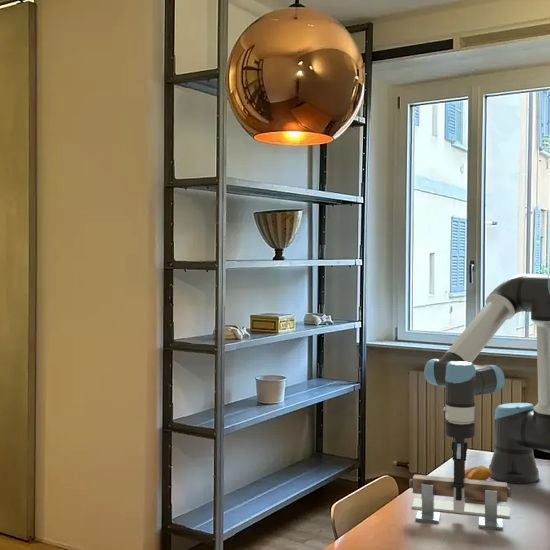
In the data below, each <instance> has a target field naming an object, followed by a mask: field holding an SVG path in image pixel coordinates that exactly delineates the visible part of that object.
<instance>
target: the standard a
mask: <svg viewBox="0 0 550 550" xmlns="http://www.w3.org/2000/svg"><path fill="white" fill-rule="evenodd" d="M420 495H421V496H420V497H421V498H420V499H422V509H421V510H420V509H417V512H416V516H415V522H420V523H421V522H422V523H430V524H439V523H440V518H441V512H439V511H434V500H435V495H433V485H432V484H422V485H421V494H420Z"/></svg>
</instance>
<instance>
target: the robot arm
mask: <svg viewBox="0 0 550 550" xmlns="http://www.w3.org/2000/svg"><path fill="white" fill-rule="evenodd" d="M521 312H526V313H530V320H531V322H533V323H534V324H535V326H536V357H537V358H536V360H537V361H536V362H537V365H536V366H537V367H536V368H537V395H538V396H537V400H538V401H537V404H535V406H534V404H533V403H531V402H530V403H528V402H510V403H503V404H499V405H498V406H496V408H495V412H494V414H495V415H494V419H493V420H494V451H493V455H492V457H491V460H490V464H489V466H488V469H489V470H491V472H492V474H491V476H490V478H491V479H494V480H497V481H499V482H505V483H511V484H531V483H535V482H537V481H539V478H540V471H539V469H538V468H537V462H536V459H535V456H534V450H538V451H542V452H544V453H545V452H546V453H549V454H550V273H543V274H542V273H541V274H540V273H520V274H516V275H514V276H511V277H509V278H507V279H506V280H504V281H503V282H502V283H500V284H499V285H498V286H496V287H495V288H494V289H493V290H492V291H491V292H490V293H489V295H488V296H486V297H485V305H484V306H483V307H482V308H481V309H480V310H479V312H478V313H477V315H475V316H474V318H473V319H472V320H471V322H470V323H469V324H468V325H467V326H466V327H465V328H464V330H463V331H462V333H460V335H459V336H458V337H457V339H455V341H454V342H453V343H452V345H451V346H450V347H449V348H448V349H447V351H446V352H445V353H444V354H443V356H441V358H432V359H429V360H427V362H426V364H425V365H424V371H423V375H424V378H425V380H426V382H427V383H428V384H431V385H433V386H436V387H439V388H445V407H442V411H444V412H445V419H446V421H445V425H444V426H445V428H444V429H445V430H444V431H445V435H446V436H447V437H449V438H453V439H454V440H452V443H451V451H452V461H453V478H454V484H453V485H451V487H454V497H453V501H452V502H453V511H454V512H464V507H465V503H466V498H464V479H467V478H465V470H466V464H465V463H466V461H467V454H468V453H467V451H468V447H469V446H468V443H469V442H468V441H466V439H472V438H473V437H475V435H476V434H475V433H476V432H475V428H476V427H475V426H476V424H475V420H476V397H477V396H482V395H488V394H494V393H497V392H499V391H500V390H501V389H502V388H503V387H504V385H505V375H504V372H503V370H502V369H501V367H499V366H498V365H494V364H484V365H478V364H474V363H473V362H474V361H475V359H476V358H477V357H478V355H479V354H480V353H481V352H482V351H483V349H484V348H485V347H486V346H487V345H488V344H489V342H490V341H491V339H492V338H493V337H494V336H495V335H496V333H498V331H499V330H500V328H501V327H502V326H503V324H504V323H505V322H506V321H507V320H511V319H513V317H514V316H515V315H516V314H518V313H521Z"/></svg>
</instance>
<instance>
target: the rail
mask: <svg viewBox="0 0 550 550" xmlns="http://www.w3.org/2000/svg"><path fill="white" fill-rule="evenodd" d="M494 481H495V480H494ZM494 481H482V480H471V479H464V498H465V499H469V500H470V499H471V500H475V499H478V500H485V489H487V490H497V502H500V503H508V498H512V488H511V487H508V482H504V481H496V482H494ZM422 484H432V485H433V495H434V496H439V497H449V498H454V487H451V485H453V484H454V477H446V476H436V475H435V476H434V475H423V474H413V476H412V478H409V482H408V487H409V489H412V494H418V495H421V485H422ZM478 500H477V501H478Z"/></svg>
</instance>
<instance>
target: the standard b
mask: <svg viewBox="0 0 550 550" xmlns="http://www.w3.org/2000/svg"><path fill="white" fill-rule="evenodd" d="M484 505H485V516H478V528H479V529H484V530H485V529H487V530H497V531H504V521H503V519H504V518H498V517H497V506H498V501H497V490H487V489H485V501H484Z"/></svg>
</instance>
